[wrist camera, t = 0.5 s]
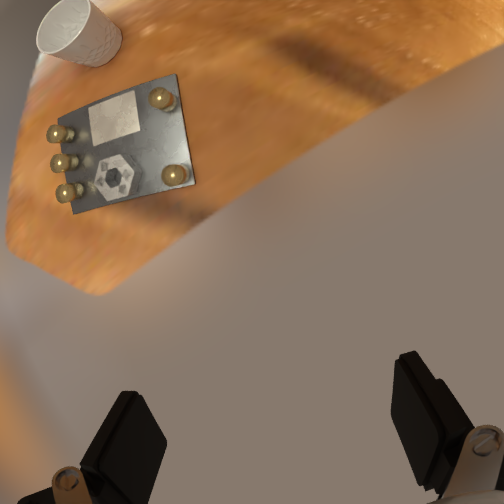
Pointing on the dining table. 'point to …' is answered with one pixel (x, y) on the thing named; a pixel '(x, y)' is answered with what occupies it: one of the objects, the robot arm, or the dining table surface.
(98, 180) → the steel nut
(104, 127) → the jig plate
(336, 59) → the dining table surface
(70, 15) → the white cup
